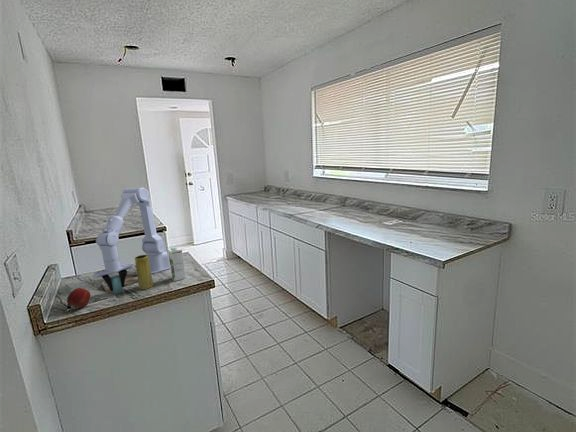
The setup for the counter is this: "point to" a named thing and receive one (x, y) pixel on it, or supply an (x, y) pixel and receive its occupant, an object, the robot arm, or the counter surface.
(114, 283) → the peg
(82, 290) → the apple
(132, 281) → the brown tray
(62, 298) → the counter surface
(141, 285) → the vase
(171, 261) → the syrup box
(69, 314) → the counter surface
